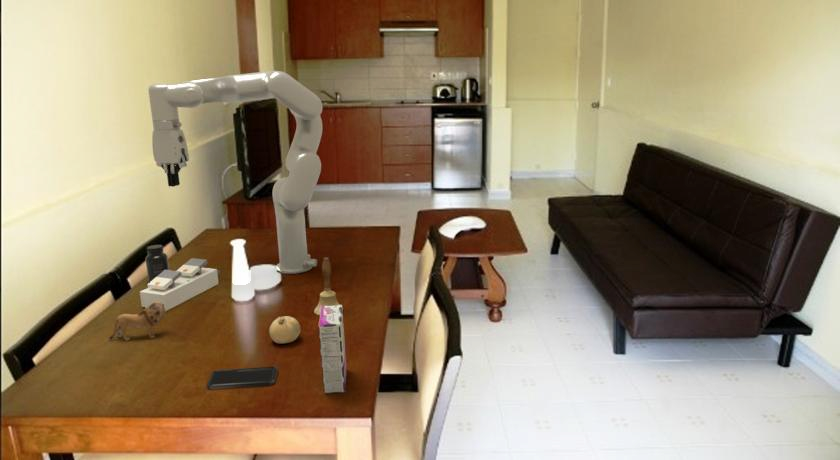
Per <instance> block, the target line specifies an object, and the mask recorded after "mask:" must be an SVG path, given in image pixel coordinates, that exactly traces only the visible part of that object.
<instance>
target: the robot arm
mask: <svg viewBox="0 0 840 460" xmlns="http://www.w3.org/2000/svg"><path fill="white" fill-rule="evenodd" d="M148 97H149V98H148V99H149V105H150V113H151V119H152V128H153V131H152V135H151V136H152V137H151V139H152V154H153V158H154V161H155V162H156V167H160V168H162V169H163V170H164V173H165V174H166V177H167V184H168V185H167V186H168V187H177V186H180V182H181V181H180V176H179V175H180V174H179V173H180V172H181V169H182V168H186V167H187V162H188V161H190V154H189V149H188V144H187V140H186V137H185V133H184V130H183V129H181V127H182V125H183V124H182V123H181V122H180V119H179V118H180V117H179V108H186V109H194V108H198V107H199V106H201V105H203V104H205V105H206V104H213V103H229V104H238V103H239V104H240V103H247V102H255V101H262V100H270V99H276V100H277V101H278V102H280V103H281V104H282V105H283V106H285V107H286V108H288V109H289V111H290V113H291V114H292V115H293V116H294V119H295V123H296V129H295V133H294V136H293V139H292V142H291V144H290V147H289V150H288V152H287V155H286V158H285V167H286V169H287V170H288V172H289V173H288V176H286V177H285V176H284V177H281V178H279V179H278V180H276V181H275V183H274V185H273V187H272V194H271V195H272V201H273V207H274V213H275V220H276V233H277V234H276V235H277V247H278V257H279V258H278V259H279V263H277V264H276V265H275V267H276V266H278V267H279V268H280V270H281V274H289V275H291V274H292V275H293V274H300V273H305V272H307V271H310V270H311V269H312V268H313V267H314V268H315V267H317V265H318V259H316V258H311V254H309V253H308V245H307V235H306V234H307V233H306V217H305V208H307V206H308V205H309V203H310V202H311V199H312V197H313V194H314V192H315V189H316V186H317V183H318V181H319V178H320V175H321V172H322V162H321V159H320V156H319V155H318V154H317V152H318V149H319V146H320V143H321V138H322V136H323V135H322V134H323V120H322V118H321V114H322V113H323V109H324V108H323V103H322V100H321V99H320V97H319V96H317V94H315V93H314V92H312V91H311V90H310V89H308V88H307V87H305V86H304V85H303V84H301V82H299V81H298V80H297V79H295V78H294V77H292V76H291V75H290V74H288V73H286V72H284V71H282V70H280V71H279V70H267V71H259V72H249V73H248V72H247V73H241V74H240V73H239V74H232V75H226V76H220V77H214V78H213V77H211V78H204V79H196V80H186V81H182V82H180V83H177V84H172V83H155V84H151V85H149V86H148Z"/></svg>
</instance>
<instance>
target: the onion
mask: <svg viewBox="0 0 840 460" xmlns="http://www.w3.org/2000/svg"><path fill="white" fill-rule="evenodd" d="M268 332H269V336H270V338H271V340H272V341H273V342H274V343H276V344H281V345H282V344H283V345H284V344H289V343H292V342H295V341H296V340H297V339H298V337H299V336H300V333H301V325H300V323H299V321H298V320H297V319H296V318H295V317H292V316H290V315H289V316H288V315H285V316H278V317H277V318H276V319H274V320H273V321H272V323H271V324H270V325H269V329H268Z"/></svg>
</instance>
